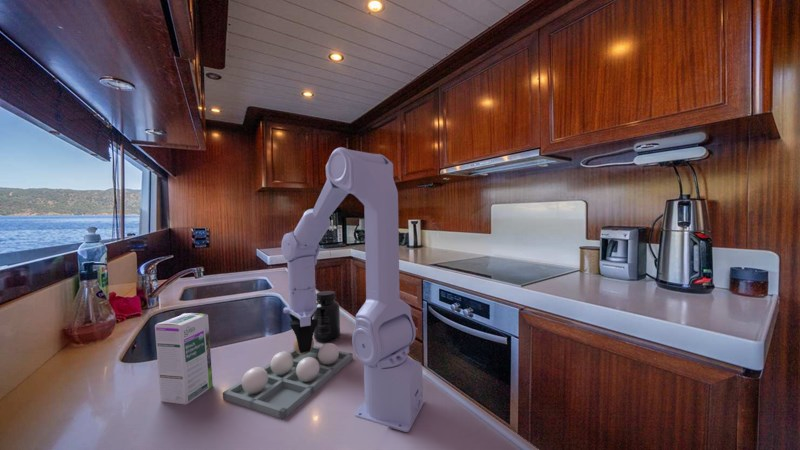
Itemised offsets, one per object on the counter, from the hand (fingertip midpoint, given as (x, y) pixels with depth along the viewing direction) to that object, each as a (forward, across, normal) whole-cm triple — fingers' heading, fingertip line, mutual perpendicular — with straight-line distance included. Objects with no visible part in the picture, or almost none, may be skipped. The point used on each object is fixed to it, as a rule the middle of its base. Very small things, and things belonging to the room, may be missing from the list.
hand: (304, 346), depth 67 cm
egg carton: (+3, +7, -2) cm, 8 cm away
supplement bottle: (+3, -10, +6) cm, 13 cm away
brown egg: (+2, 0, 0) cm, 2 cm away
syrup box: (+3, +4, -21) cm, 22 cm away
